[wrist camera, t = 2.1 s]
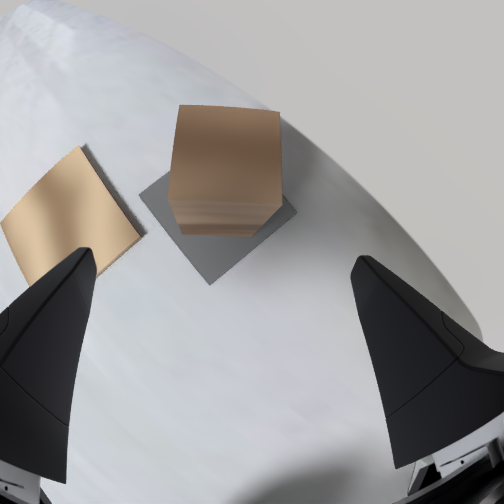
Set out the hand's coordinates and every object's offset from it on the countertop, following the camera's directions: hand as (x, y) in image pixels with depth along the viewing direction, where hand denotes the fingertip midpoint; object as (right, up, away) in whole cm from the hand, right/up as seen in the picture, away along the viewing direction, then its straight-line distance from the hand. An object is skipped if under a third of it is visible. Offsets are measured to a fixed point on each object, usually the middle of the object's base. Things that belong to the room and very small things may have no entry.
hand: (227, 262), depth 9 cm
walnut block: (-2, +4, +12) cm, 13 cm away
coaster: (-14, +2, +10) cm, 17 cm away
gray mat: (-2, +4, +12) cm, 13 cm away
